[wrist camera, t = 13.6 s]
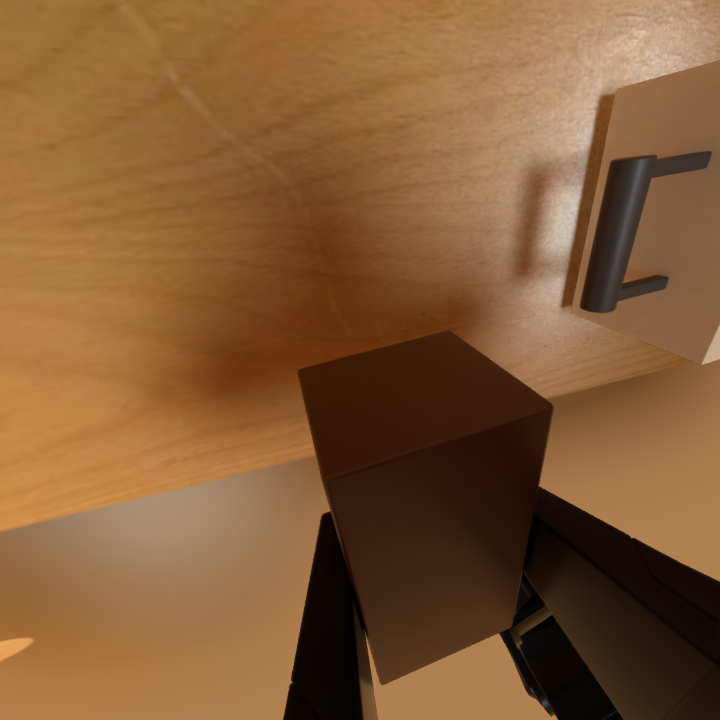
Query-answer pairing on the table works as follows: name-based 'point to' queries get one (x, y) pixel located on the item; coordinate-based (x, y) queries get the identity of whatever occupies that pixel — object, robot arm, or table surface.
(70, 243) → the table surface
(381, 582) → the chocolate bar
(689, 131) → the drawer
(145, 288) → the table surface
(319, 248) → the table surface
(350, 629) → the robot arm
